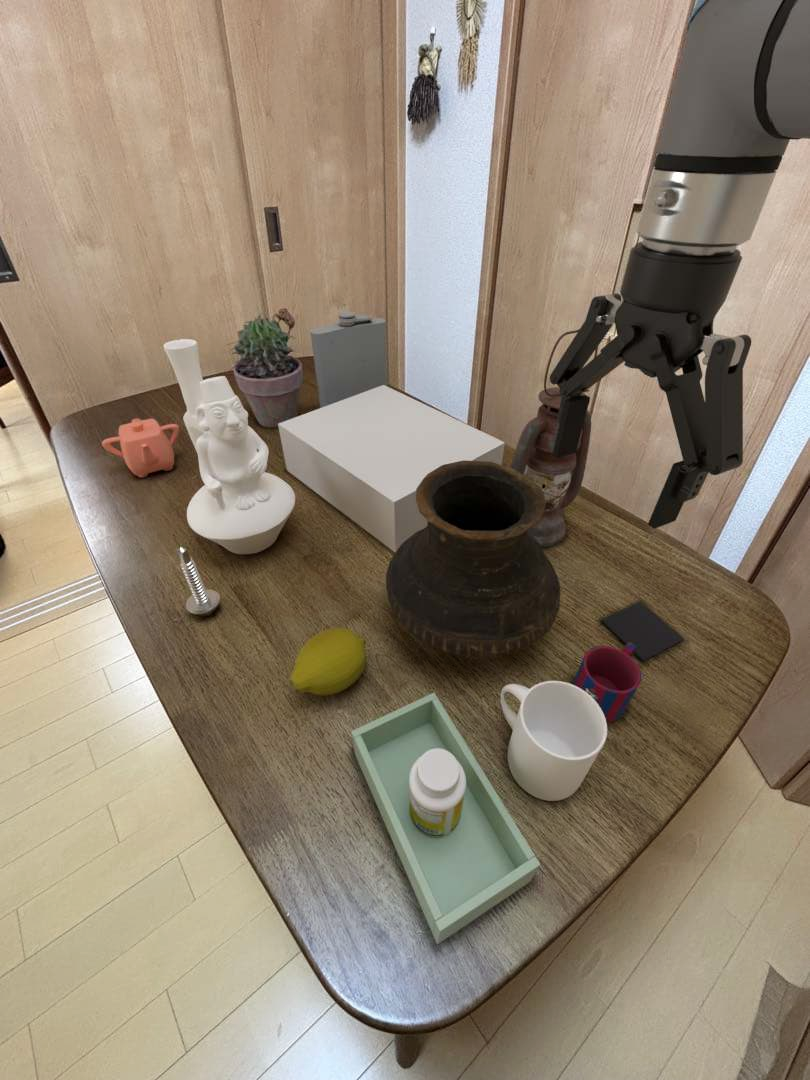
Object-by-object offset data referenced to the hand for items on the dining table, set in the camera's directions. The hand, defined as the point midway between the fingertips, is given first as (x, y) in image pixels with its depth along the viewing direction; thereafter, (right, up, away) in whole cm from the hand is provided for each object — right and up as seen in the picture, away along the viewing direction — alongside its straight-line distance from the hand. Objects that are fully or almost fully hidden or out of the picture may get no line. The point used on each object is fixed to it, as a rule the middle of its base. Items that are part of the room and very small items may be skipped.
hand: (608, 485), depth 49 cm
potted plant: (-53, +24, +71) cm, 92 cm away
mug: (-6, -31, +8) cm, 32 cm away
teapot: (-75, +10, +55) cm, 94 cm away
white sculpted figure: (-49, -4, +39) cm, 63 cm away
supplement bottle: (-18, -35, +3) cm, 39 cm away
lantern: (+3, -3, +39) cm, 39 cm away
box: (-24, +7, +51) cm, 57 cm away
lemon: (-30, -24, +16) cm, 42 cm away
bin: (-18, -35, +3) cm, 39 cm away
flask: (-33, +24, +71) cm, 82 cm away
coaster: (+14, -19, +21) cm, 32 cm away
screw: (-51, -17, +25) cm, 59 cm away
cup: (+5, -26, +14) cm, 30 cm away
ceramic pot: (-11, -17, +24) cm, 31 cm away
